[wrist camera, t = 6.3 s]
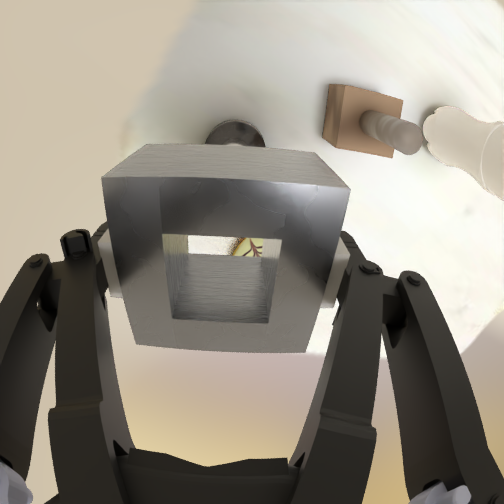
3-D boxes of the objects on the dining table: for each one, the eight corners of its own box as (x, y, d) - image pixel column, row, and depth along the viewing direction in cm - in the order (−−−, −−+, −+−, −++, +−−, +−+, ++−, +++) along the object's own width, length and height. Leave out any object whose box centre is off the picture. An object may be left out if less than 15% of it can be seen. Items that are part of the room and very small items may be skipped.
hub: (207, 118, 27) (198, 127, 22) (266, 121, 27) (273, 131, 22) (205, 173, 30) (197, 195, 25) (261, 176, 31) (265, 198, 25)
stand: (329, 84, 25) (379, 87, 15) (380, 95, 26) (447, 111, 15) (322, 137, 28) (365, 171, 18) (372, 146, 29) (430, 183, 19)
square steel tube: (157, 279, 17) (136, 344, 12) (146, 144, 12) (101, 177, 8) (291, 286, 17) (305, 352, 13) (315, 152, 13) (350, 189, 9)
